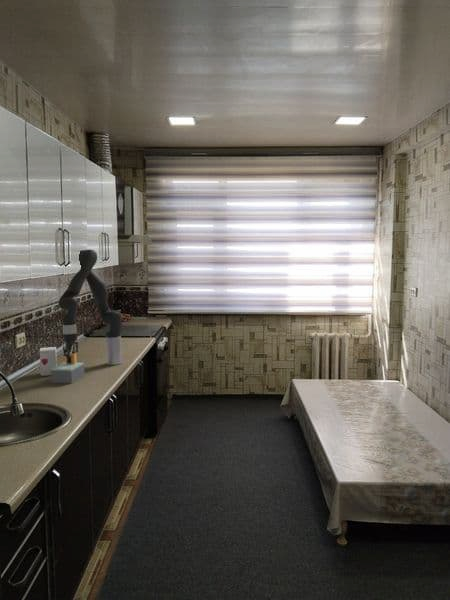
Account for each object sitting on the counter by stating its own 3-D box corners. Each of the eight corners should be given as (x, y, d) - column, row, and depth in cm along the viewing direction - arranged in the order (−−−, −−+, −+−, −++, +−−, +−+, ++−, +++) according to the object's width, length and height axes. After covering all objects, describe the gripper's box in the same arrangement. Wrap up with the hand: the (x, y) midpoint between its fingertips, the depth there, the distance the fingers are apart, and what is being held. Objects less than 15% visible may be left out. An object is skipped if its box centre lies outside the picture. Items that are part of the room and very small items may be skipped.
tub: (64, 375, 297) (64, 363, 296) (84, 376, 295) (83, 364, 294) (51, 382, 283) (50, 370, 282) (71, 383, 280) (71, 370, 280)
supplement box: (40, 376, 298) (38, 350, 296) (41, 372, 306) (40, 347, 305) (57, 374, 300) (55, 349, 299) (57, 371, 309) (56, 346, 307)
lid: (64, 365, 297) (63, 352, 296) (83, 366, 294) (83, 353, 294) (50, 372, 282) (50, 358, 281) (71, 372, 280) (70, 358, 279)
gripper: (69, 330, 299) (71, 359, 300) (57, 334, 285) (59, 364, 286) (81, 330, 297) (83, 359, 299) (70, 334, 283) (71, 365, 285)
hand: (71, 361), depth 293 cm, fingers open, 5 cm apart
